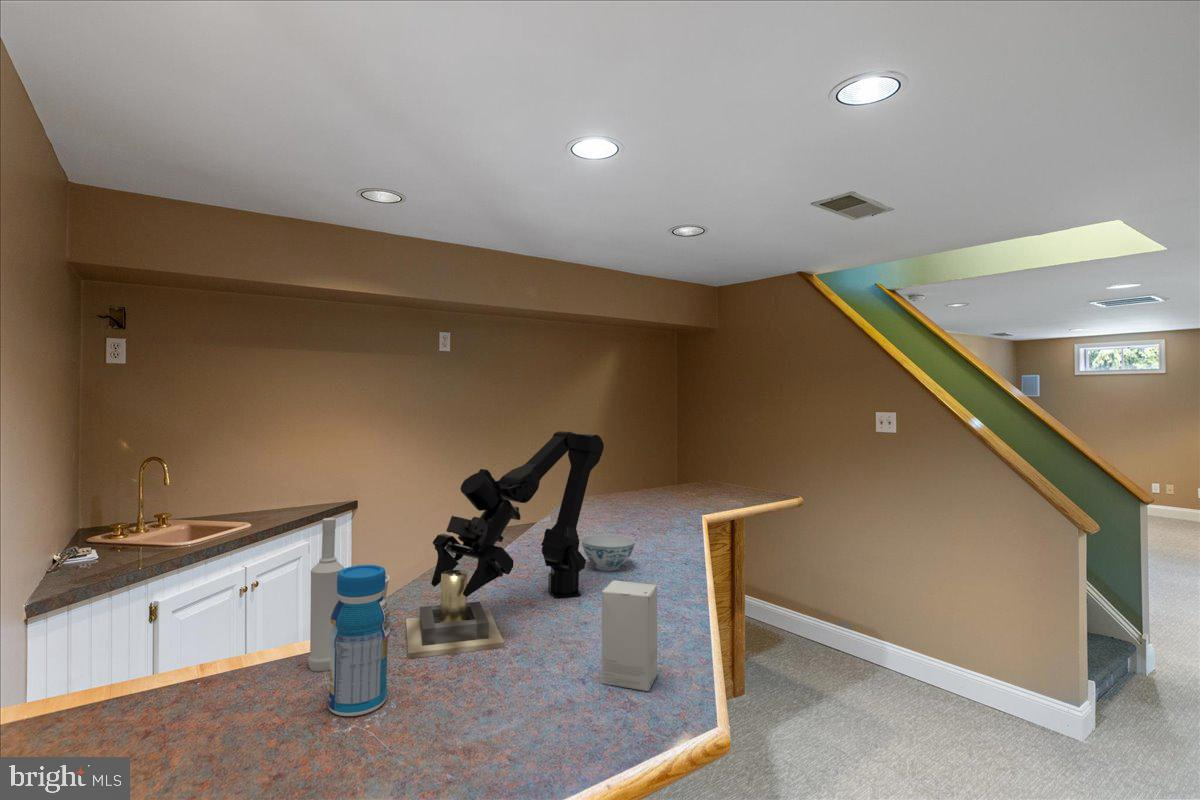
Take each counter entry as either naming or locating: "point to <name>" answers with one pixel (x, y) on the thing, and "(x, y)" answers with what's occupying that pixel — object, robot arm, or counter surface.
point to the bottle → (323, 599)
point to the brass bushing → (453, 596)
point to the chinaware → (608, 550)
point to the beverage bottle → (359, 642)
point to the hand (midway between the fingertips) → (448, 590)
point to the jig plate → (450, 646)
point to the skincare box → (629, 635)
